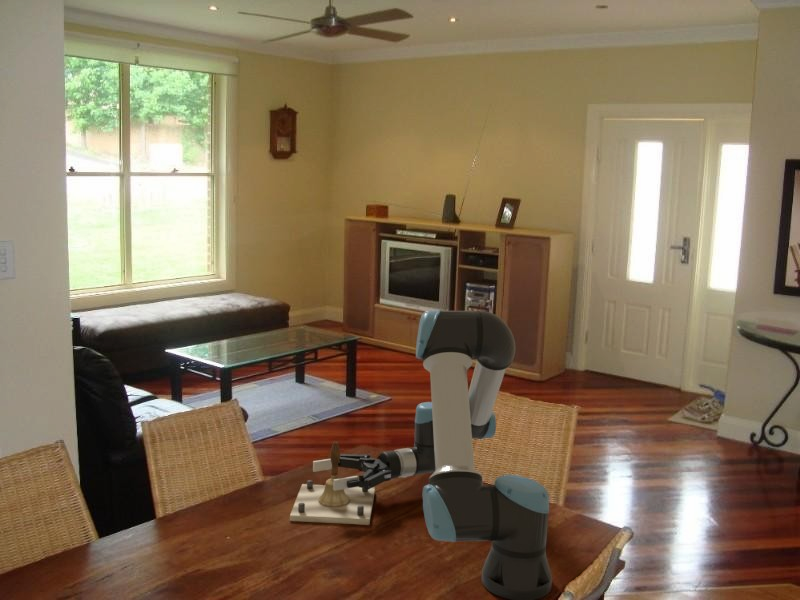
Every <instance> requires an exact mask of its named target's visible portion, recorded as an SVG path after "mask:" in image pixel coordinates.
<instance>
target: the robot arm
mask: <svg viewBox="0 0 800 600" xmlns="http://www.w3.org/2000/svg"><path fill="white" fill-rule="evenodd" d="M417 330H418V331H417V336H416V337H417V338H416V346H415V358H416V359H418V360H422V365H423V368H424V370H426V371H427V372H428V373H429V374H430V375H429V376H430V395H431V396H430V397H431V401H425V402H421V403H419V404H417V406H416V407H415V418H414V442H413V443H414V444H413V447H412V446H411V447H406V448H405V447H403V448H397V449H394V450H387V451H382V452H380V453H379V454H378V456H377V458H374V457H371V454H369V453H367V454H365V453H364V454H352V453H351V454H347V453H346V454H345V453H340V460H339V463H338V468H345V469H354V470H358V472H363V474H359V475H353V476H347V477H341V478H338V479H334V480H333V490H334V491H336V490H342V489H348V488H354V487H360V488H362V487H364V489H365V490H368V489H370V488H375V487H377V486H378V485H381V484H382V483H385V482H389V481H391V480H394V479H398V478H404V479H406V478H407V477H413V476H418V475H424V474H429V473H430V474H431V475H430V476H429V478H428V484H426V485H424V486H423V488H422V495H421V496H422V497H421V498H422V511H423V514H424V515H423V516H424V521H425V525H426V528H427V529H426V530H427V532H428V534H429V535H430V537H431V538H432V539H433V540H435V541H437V542H450V543H455V542H491V547H490V550H489V551H488V554H487V557H486V559H485V561H484V564H483V566H482V570H481V583H482V585H483V587H484V588H486V590H487V591H488V592H490V593H492V594H493V595H495V596H498V597H500V598H504V599H507V600H539V599H542V598H544V597H546V596H547V595H548V594H550V592H551V590H552V583H553V582H552V581H553V579H552V578H553V576H552V572H551V569H550V565H549V561H548V557H547V554H546V551H547V549H546V548H547V538H548V537H547V536H548V524H549V513H550V511H551V509H550V495H549V492H548V490H547V488H546V487H545V486H544V485H542V484H541V483H540V482H538V481H536V480H534V479H531V478H529V477H525V476H521V475H515V474H503V475H499V476H498V477H496V479H495V481H494V484H483V483H484V482H483V474H481V473H480V472H479V471H478V470H477V469H476V468H475V460H474V459H475V457H474V449H473V448H474V447H473V446H474V445H473V439H476V440H483V439H491V438H493V437H494V436H495V434H496V428H497V420H496V419H497V418H496V414H495V412H493V409H494V408H495V403H496V401H497V398H498V395H499V391H500V390H501V389H500V388H501V385H502V382H503V379H504V376H505V373H506V370H507V369H509V368H510V367H511V365H512V364H513V362H514V358H515V356H516V355H515V354H516V341H515V337H514V335H513V332H512V330H511V328H510V327H509V325H508V324H507V323H506V322H505V321H504V320H503V318H501V317H500V316H498V315H496V314H495V313H492V312H489V311H486V310H485V311H484V310H442V309H439V310H426V311H425V310H424V312H423V313H422V314H421V316H420V319H419V323H418V329H417ZM473 360H476V362H475V366H474V369H473V374H472V377H471V382H470V384H469V383H468V370H469V369H470V368H471V367H472V365H473ZM468 384H469V385H468ZM329 470H332V463H331V459H330V458H326V459H319V460H313V461H312V472H314V473H315V472H322V471H329Z"/></svg>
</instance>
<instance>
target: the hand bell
mask: <svg viewBox="0 0 800 600" xmlns="http://www.w3.org/2000/svg"><path fill="white" fill-rule="evenodd" d="M340 454H341V449H340V446H339V441H333V443H332V445H331V449H330V453H329V457H330V458H329V459H331V463H332V469H331V474H330V478H327V480H326V481H325V484H324V485H325V489H324V492H323V494H322V495H321V496H320V497H319V499H318V502H319V503H320V504H322V505H324V506H329V507H339V506H343V505H346V504H348V503H349V501H350V499H349V497H348V496H347V495H346V494H345V492H344V489H342V490H336V491H334V490H333V480H334V479H339V476H338V475H339V470H338V468H339V467H338V463H339V460H340Z"/></svg>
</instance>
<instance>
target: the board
mask: <svg viewBox="0 0 800 600" xmlns="http://www.w3.org/2000/svg"><path fill="white" fill-rule="evenodd" d="M324 489H325V484H324V485H323V484H314V481H313V480H312V479H308V480H306V483H302V484H301V486H300V488H299V491H298V493H297V496H296V499H295V501H294V504H293V506H292V509H291V511H290V514H289V521H290V522H304V523H305V522H306V523H308V522H309V523H323V524H324V523H326V524H343V525H347V524H348V525H361V526H363V525H364V526H369V525H370V524H371V523H370V522H371V518H372V517H371V516H372V510H373V506H374V505H373V504H374V498H375V493H376V492H375V490H376V488H375V487H372V488H370V489H368V490H365V489H364V487H362V488H360V487H359V486H358V487H354V488H348V489H344V492H345V494H346V495H347V496H348V497H349V499H350V501H349V503H348V504H346V505H343V506H339V507H329V506H324V505H322V504H320V503H319V502H318V499H319V497H320V496H321V495H322V494H323V492H324Z"/></svg>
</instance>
